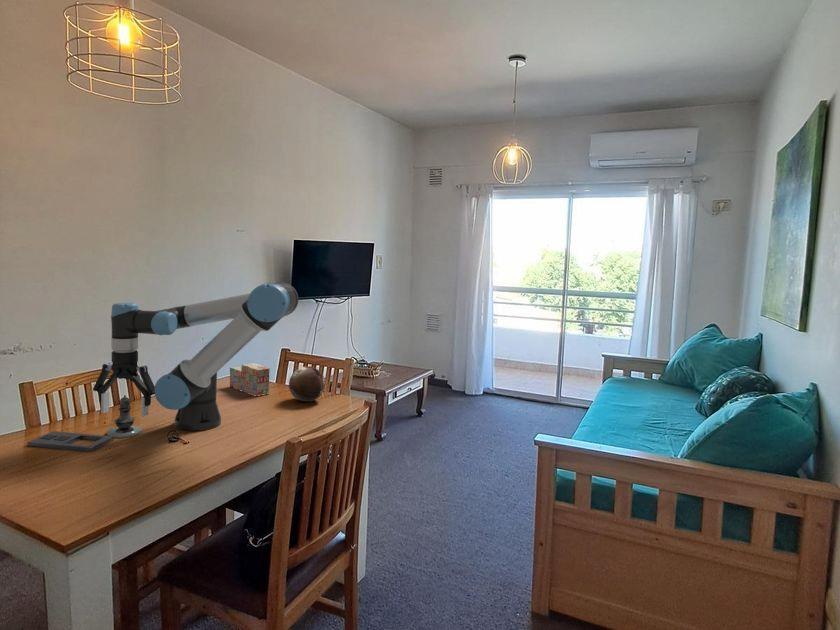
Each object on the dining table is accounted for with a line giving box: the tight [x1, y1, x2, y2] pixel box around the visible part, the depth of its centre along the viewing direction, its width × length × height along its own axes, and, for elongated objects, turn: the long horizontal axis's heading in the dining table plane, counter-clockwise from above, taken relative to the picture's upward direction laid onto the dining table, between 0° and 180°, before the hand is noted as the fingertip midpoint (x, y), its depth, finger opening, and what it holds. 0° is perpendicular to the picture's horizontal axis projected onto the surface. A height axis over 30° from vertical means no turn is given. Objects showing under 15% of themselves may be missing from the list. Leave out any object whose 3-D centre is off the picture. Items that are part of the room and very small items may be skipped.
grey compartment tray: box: [27, 430, 114, 453], centre depth 158 cm, size 20×10×1 cm, turn 86°
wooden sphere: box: [288, 366, 326, 402], centre depth 219 cm, size 15×15×15 cm
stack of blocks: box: [229, 362, 271, 396], centre depth 229 cm, size 21×6×12 cm, turn 51°
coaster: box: [106, 424, 143, 439], centre depth 170 cm, size 10×10×1 cm
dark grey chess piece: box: [114, 395, 136, 433], centre depth 169 cm, size 6×6×12 cm
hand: (125, 413), depth 169 cm, fingers open, 13 cm apart
